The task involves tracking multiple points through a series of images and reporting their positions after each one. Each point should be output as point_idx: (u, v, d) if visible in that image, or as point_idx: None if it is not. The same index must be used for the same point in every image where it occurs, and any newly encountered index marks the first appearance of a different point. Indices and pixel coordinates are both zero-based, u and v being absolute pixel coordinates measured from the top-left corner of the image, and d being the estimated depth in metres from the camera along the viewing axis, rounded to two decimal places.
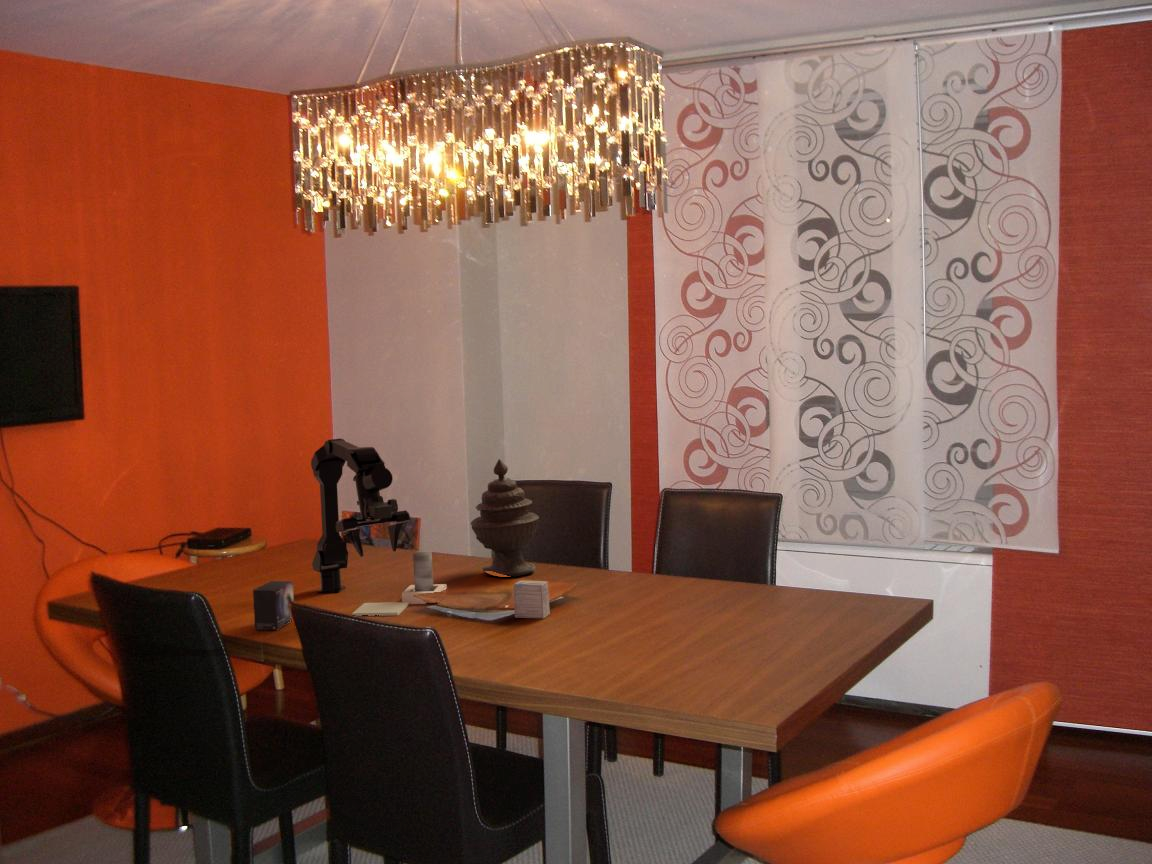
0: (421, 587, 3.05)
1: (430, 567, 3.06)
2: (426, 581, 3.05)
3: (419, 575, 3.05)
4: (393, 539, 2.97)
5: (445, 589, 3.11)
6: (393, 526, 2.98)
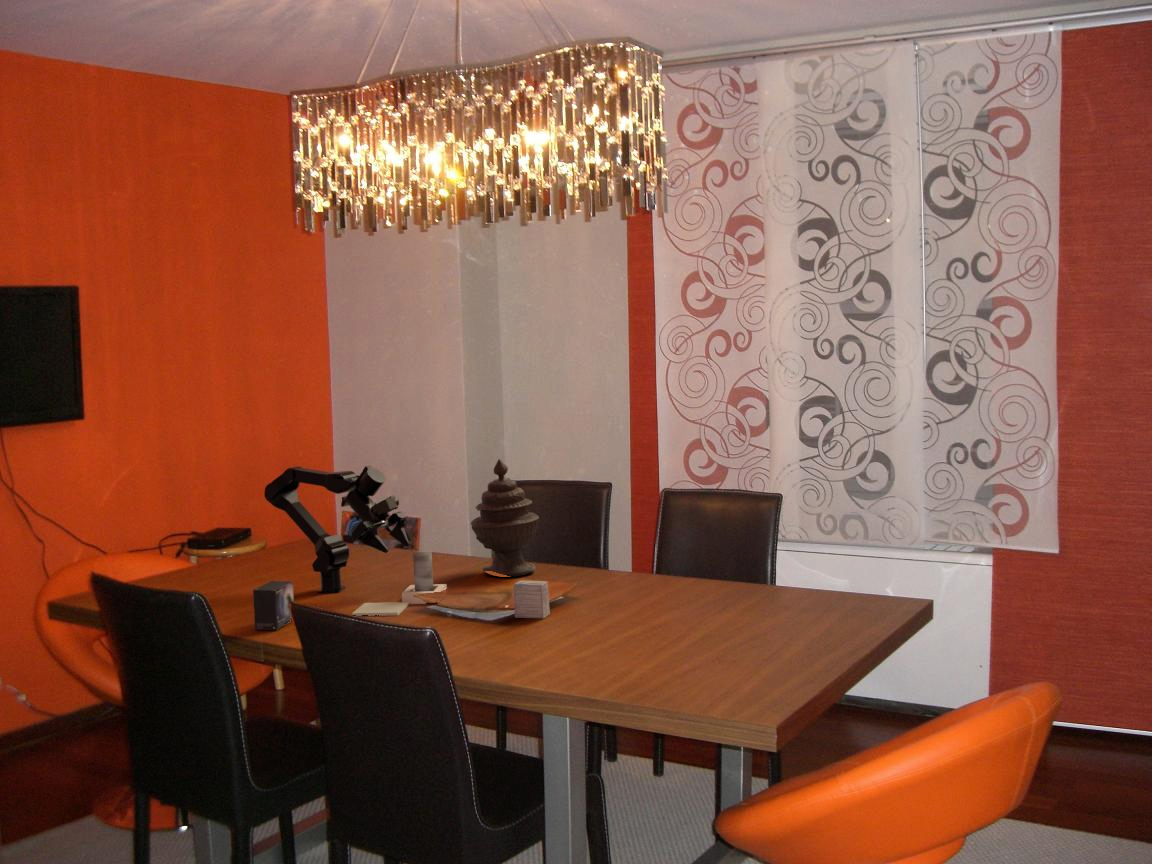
0: (421, 587, 3.05)
1: (430, 567, 3.06)
2: (426, 581, 3.05)
3: (419, 575, 3.05)
4: (402, 536, 3.16)
5: (445, 589, 3.11)
6: (396, 526, 3.17)
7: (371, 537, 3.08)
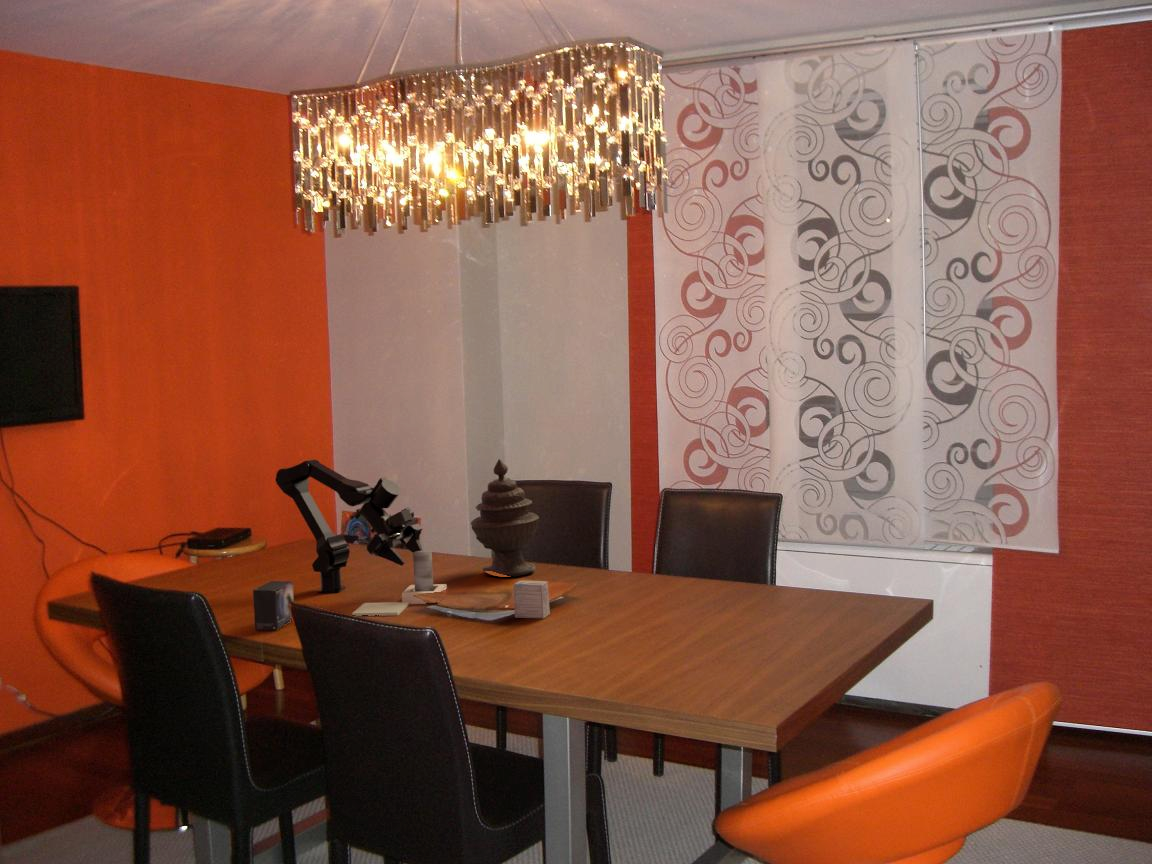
0: (421, 587, 3.05)
1: (430, 567, 3.06)
2: (426, 581, 3.05)
3: (419, 575, 3.05)
4: (417, 548, 3.13)
5: (445, 589, 3.11)
6: (411, 538, 3.15)
7: (387, 550, 3.06)
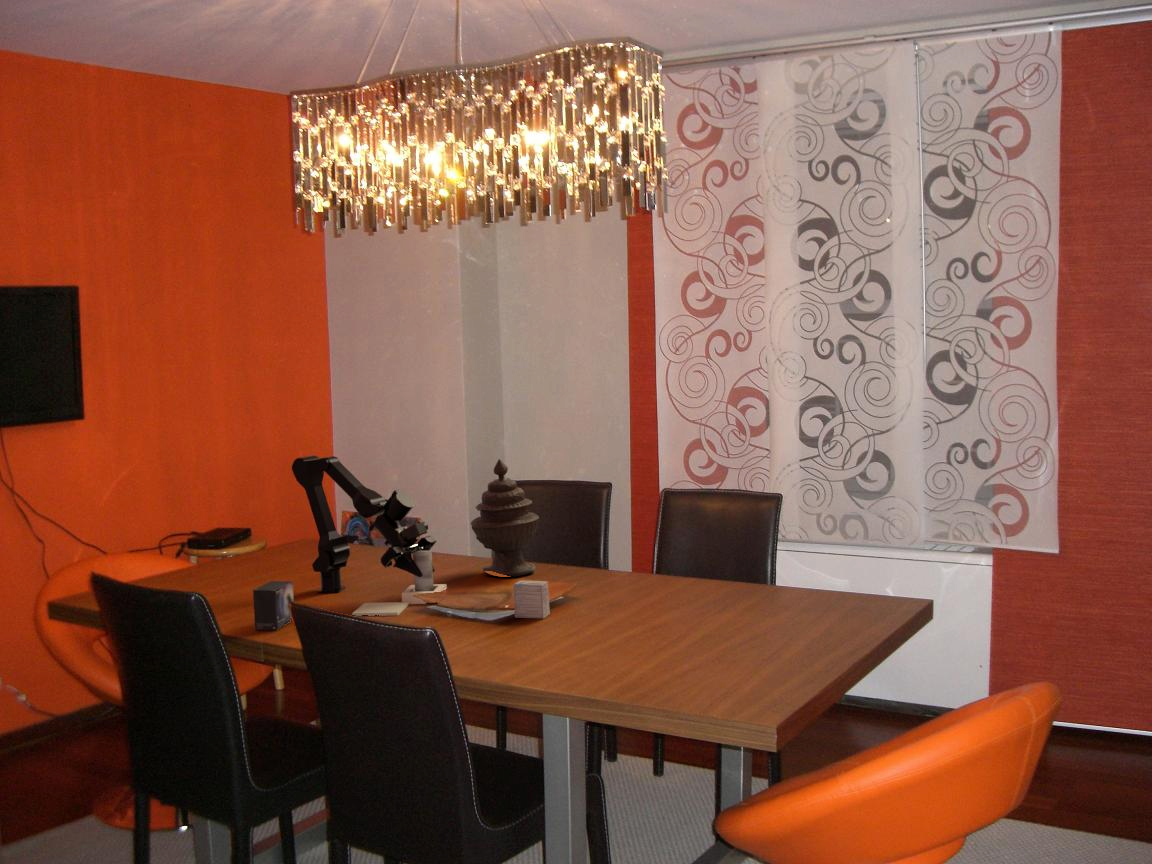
0: (421, 587, 3.05)
1: (430, 567, 3.06)
2: (426, 581, 3.05)
3: None
4: None
5: (445, 589, 3.11)
6: None
7: (405, 561, 3.05)
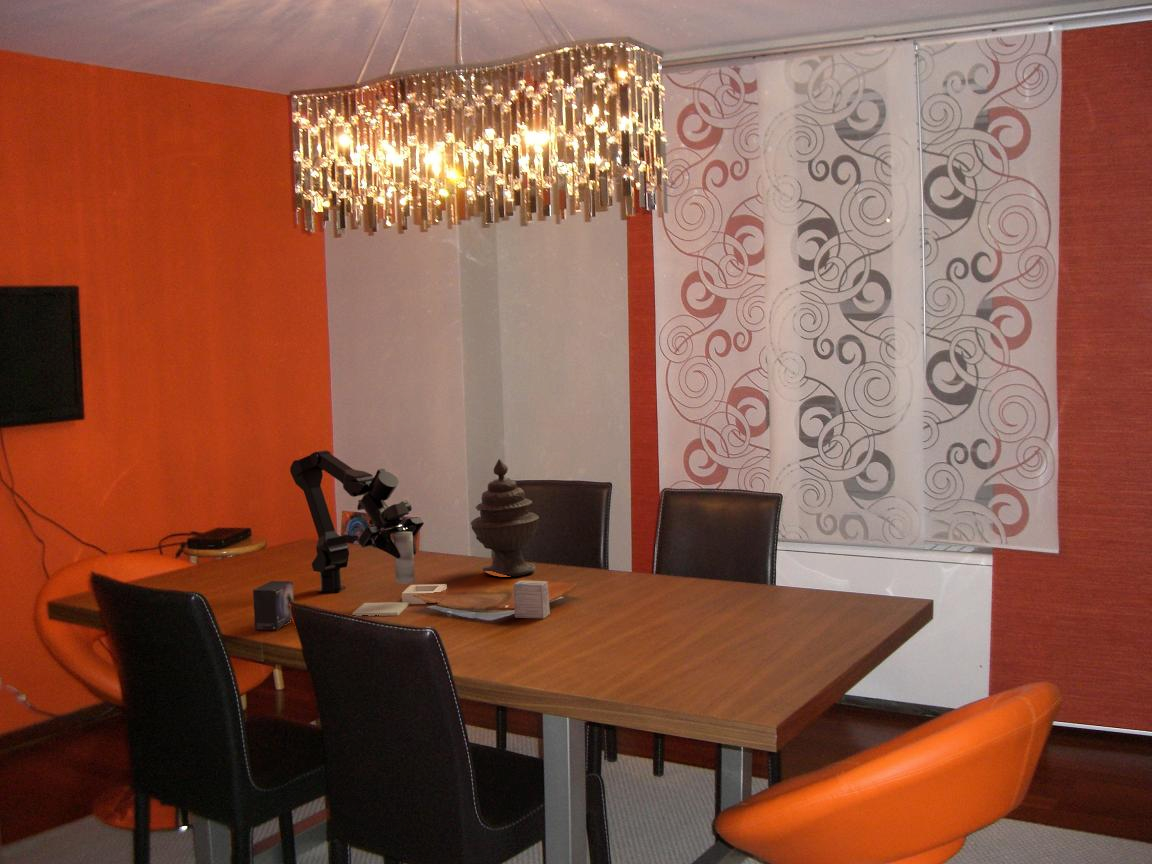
0: (400, 568, 3.00)
1: (409, 549, 3.00)
2: (405, 563, 2.99)
3: None
4: None
5: (445, 589, 3.11)
6: None
7: (384, 541, 3.00)
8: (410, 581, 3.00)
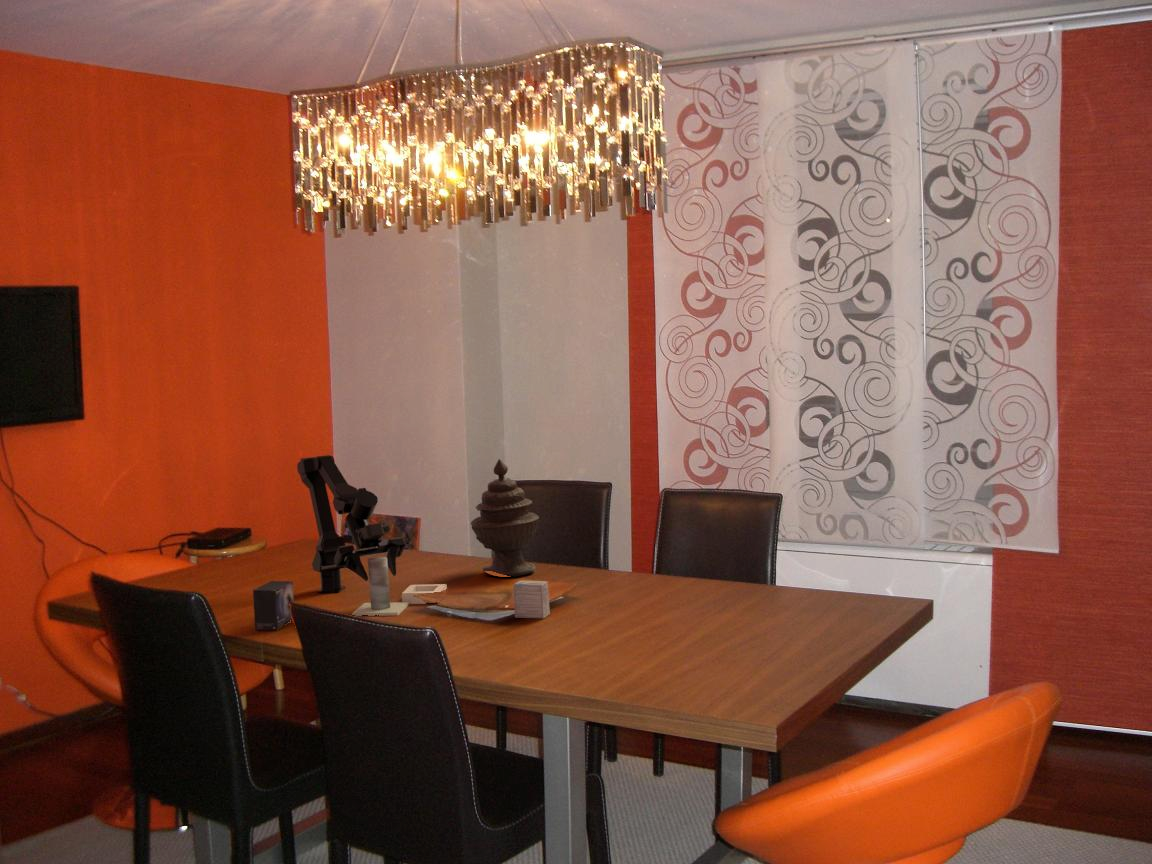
0: (373, 594, 2.95)
1: (382, 575, 2.95)
2: (377, 589, 2.95)
3: (371, 582, 2.95)
4: (391, 564, 2.99)
5: (445, 589, 3.11)
6: (388, 553, 3.01)
7: (355, 563, 2.96)
8: (383, 608, 2.96)
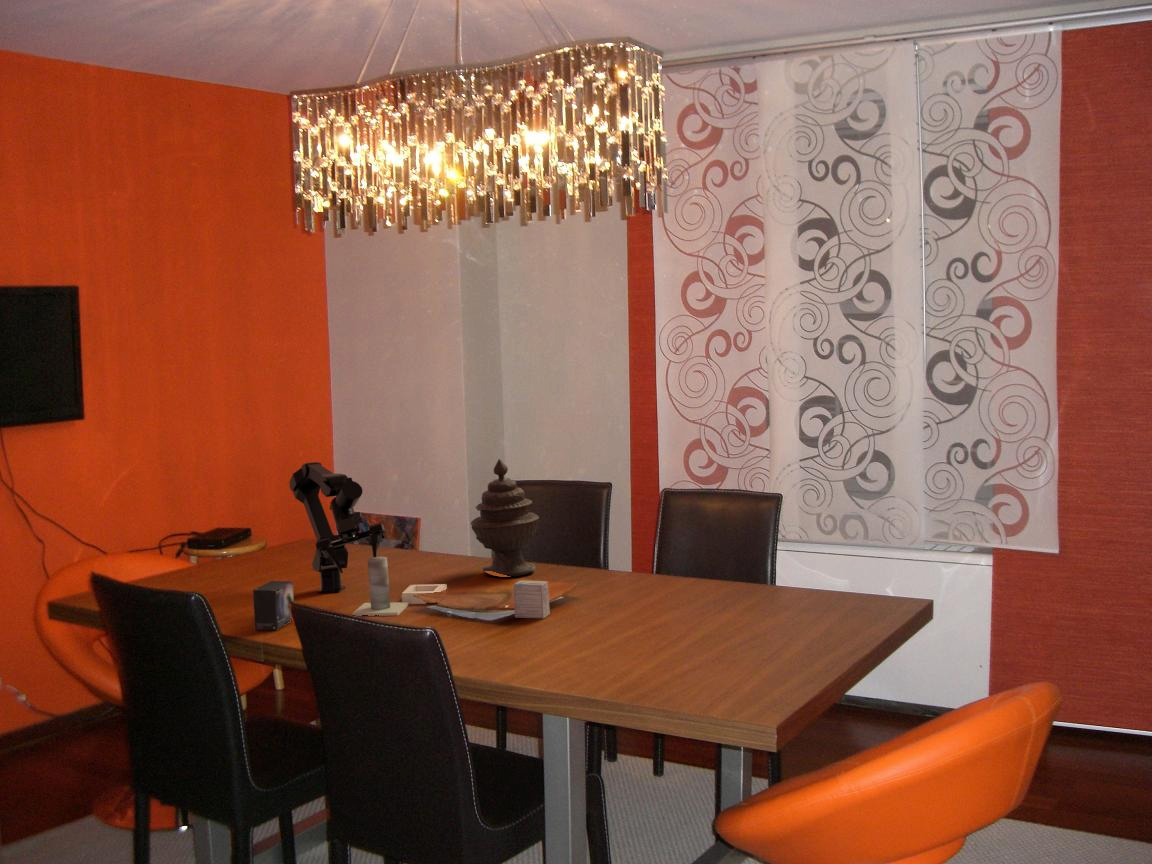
0: (372, 594, 2.95)
1: (382, 575, 2.95)
2: (377, 589, 2.95)
3: (371, 582, 2.95)
4: None
5: (445, 589, 3.11)
6: None
7: None
8: (383, 608, 2.96)
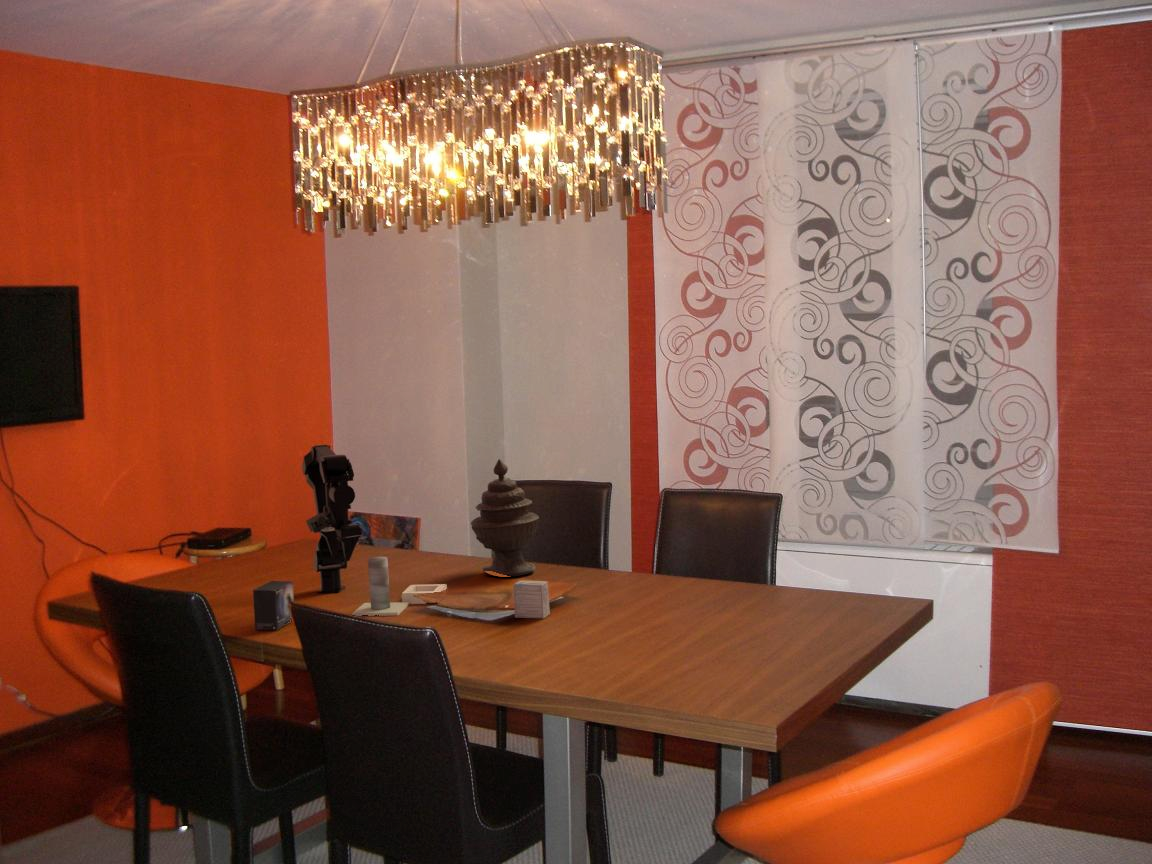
0: (373, 594, 2.95)
1: (382, 575, 2.95)
2: (377, 589, 2.95)
3: (371, 582, 2.95)
4: None
5: (445, 589, 3.11)
6: None
7: None
8: (383, 608, 2.96)
